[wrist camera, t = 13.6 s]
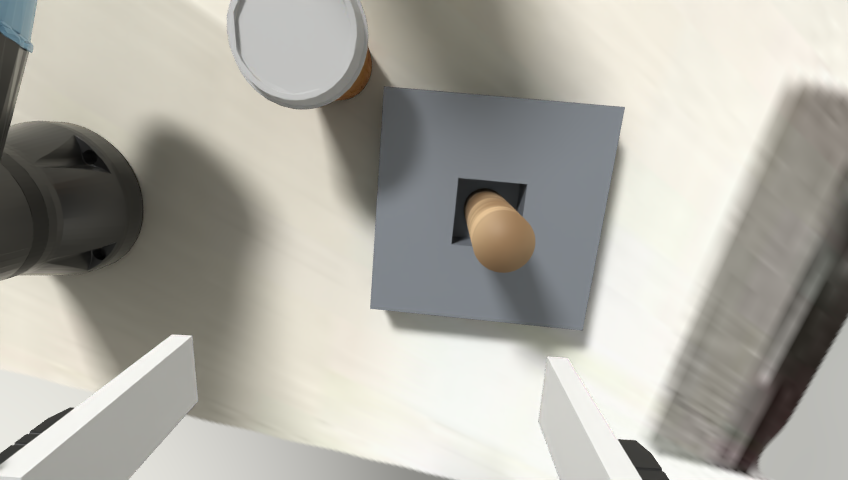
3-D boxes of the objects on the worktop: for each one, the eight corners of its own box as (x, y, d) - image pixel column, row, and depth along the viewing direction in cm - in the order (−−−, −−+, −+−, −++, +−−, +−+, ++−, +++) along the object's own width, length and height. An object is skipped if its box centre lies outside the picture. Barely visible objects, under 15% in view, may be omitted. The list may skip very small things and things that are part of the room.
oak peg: (461, 227, 41) (469, 269, 27) (466, 186, 40) (476, 209, 26) (502, 231, 41) (530, 275, 27) (507, 190, 40) (539, 215, 26)
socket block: (377, 293, 44) (370, 308, 40) (390, 92, 39) (384, 86, 35) (570, 313, 43) (582, 330, 39) (606, 110, 38) (624, 107, 34)
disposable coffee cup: (316, -14, 37) (256, -85, 26) (408, 44, 38) (391, 0, 26) (270, 84, 39) (196, 59, 28) (358, 137, 40) (322, 135, 28)
